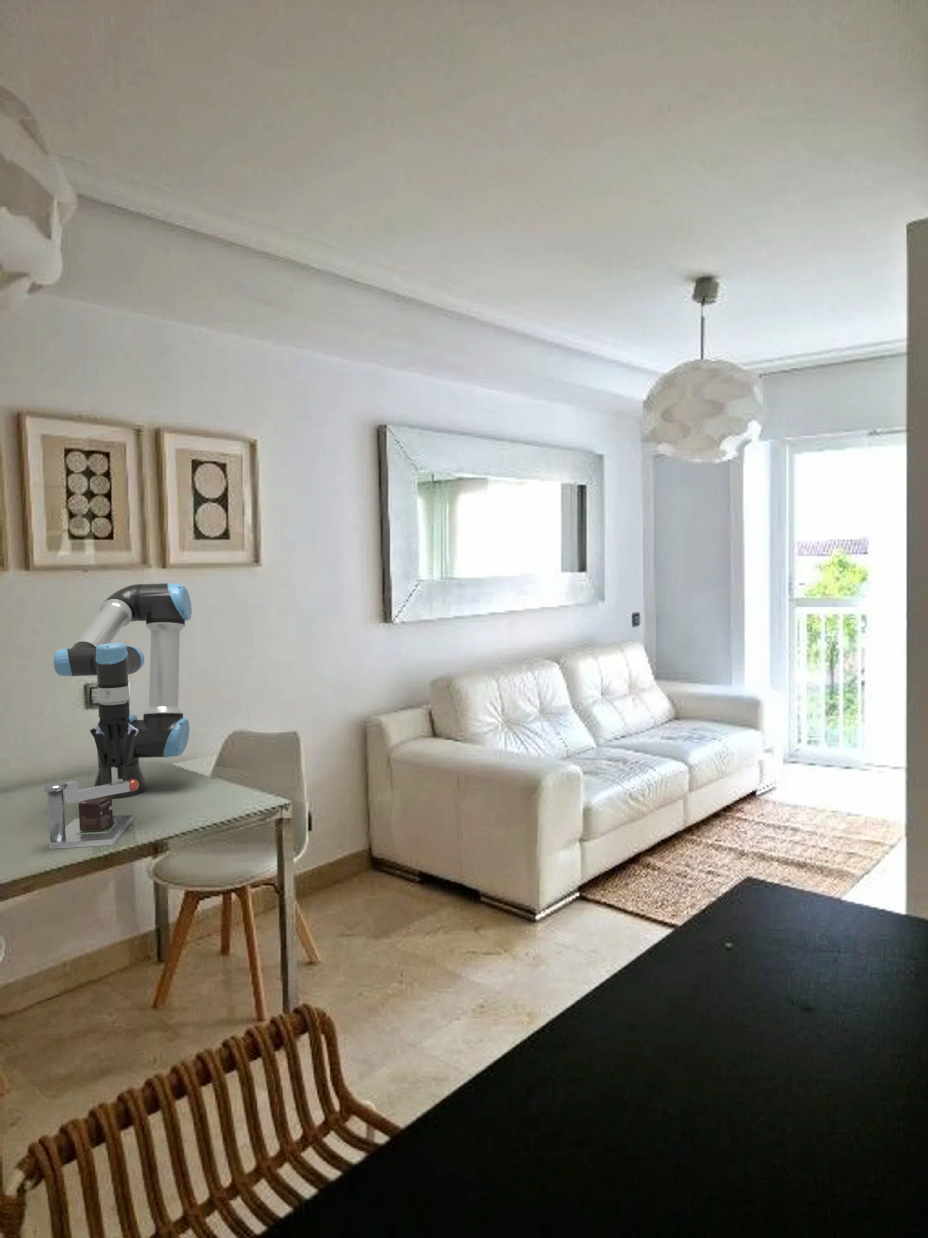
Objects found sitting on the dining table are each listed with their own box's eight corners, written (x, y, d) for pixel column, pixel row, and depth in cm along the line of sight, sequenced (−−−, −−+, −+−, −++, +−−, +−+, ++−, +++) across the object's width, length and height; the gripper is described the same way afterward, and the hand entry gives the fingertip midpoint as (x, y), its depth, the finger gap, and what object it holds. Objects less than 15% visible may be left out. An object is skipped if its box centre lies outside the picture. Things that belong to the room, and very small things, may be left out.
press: (74, 824, 229) (71, 773, 228) (132, 820, 231) (130, 770, 230) (47, 849, 210) (44, 793, 208) (112, 845, 211) (109, 790, 210)
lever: (48, 810, 207) (47, 789, 207) (42, 806, 211) (41, 785, 211) (142, 791, 223) (141, 771, 222) (135, 788, 226) (134, 768, 226)
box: (100, 832, 217) (98, 804, 216) (79, 831, 218) (77, 803, 217) (114, 824, 223) (112, 797, 222) (93, 823, 224) (91, 796, 223)
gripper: (82, 704, 219) (86, 794, 221) (129, 705, 217) (133, 795, 219) (98, 699, 226) (102, 786, 228) (144, 700, 224) (147, 787, 226)
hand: (117, 790), depth 223 cm, fingers closed
